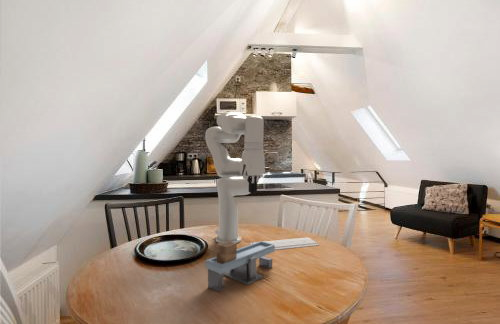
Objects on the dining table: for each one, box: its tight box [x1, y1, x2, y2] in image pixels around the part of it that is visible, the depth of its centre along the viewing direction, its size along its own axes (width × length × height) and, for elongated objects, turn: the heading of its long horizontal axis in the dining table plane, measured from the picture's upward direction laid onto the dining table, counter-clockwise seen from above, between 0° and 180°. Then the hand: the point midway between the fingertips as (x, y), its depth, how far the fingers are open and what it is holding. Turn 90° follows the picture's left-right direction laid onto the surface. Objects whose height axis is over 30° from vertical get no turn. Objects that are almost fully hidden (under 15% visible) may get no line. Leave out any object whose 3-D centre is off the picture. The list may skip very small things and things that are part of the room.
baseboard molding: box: [249, 237, 320, 251], centre depth 146 cm, size 31×3×12 cm
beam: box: [205, 240, 276, 274], centre depth 111 cm, size 8×28×3 cm, turn 138°
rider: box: [216, 241, 238, 264], centre depth 104 cm, size 4×5×6 cm
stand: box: [207, 255, 273, 293], centre depth 111 cm, size 12×28×8 cm, turn 138°
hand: (252, 192), depth 127 cm, fingers closed
